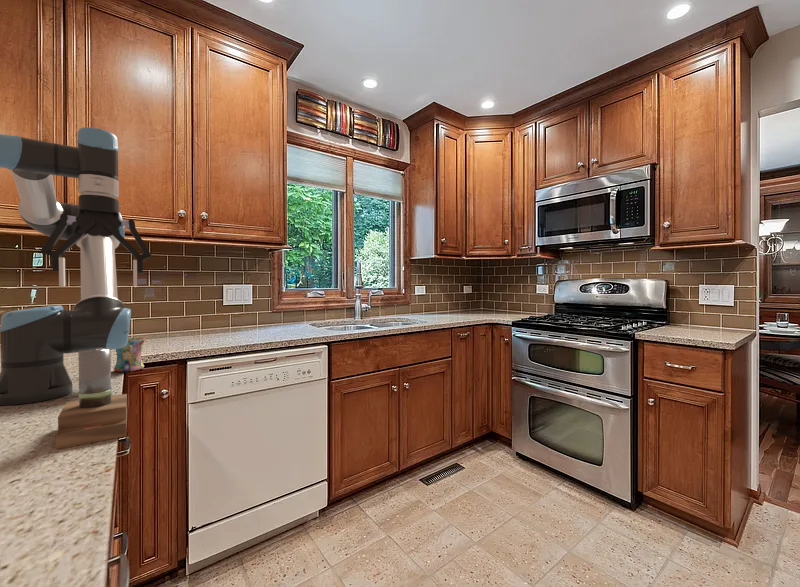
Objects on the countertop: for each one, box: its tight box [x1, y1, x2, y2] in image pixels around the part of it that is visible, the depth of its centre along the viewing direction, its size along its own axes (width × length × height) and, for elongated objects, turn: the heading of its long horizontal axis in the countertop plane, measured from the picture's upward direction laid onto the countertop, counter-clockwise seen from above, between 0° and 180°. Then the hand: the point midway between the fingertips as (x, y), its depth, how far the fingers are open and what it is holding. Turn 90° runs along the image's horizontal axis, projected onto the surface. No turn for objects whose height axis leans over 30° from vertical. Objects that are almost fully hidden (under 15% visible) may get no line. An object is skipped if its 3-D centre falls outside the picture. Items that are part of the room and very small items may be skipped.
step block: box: [55, 393, 128, 450], centre depth 75 cm, size 14×10×5 cm
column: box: [77, 348, 113, 408], centre depth 76 cm, size 5×5×11 cm
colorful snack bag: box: [113, 337, 146, 373], centre depth 127 cm, size 12×9×11 cm
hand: (100, 286), depth 90 cm, fingers open, 13 cm apart
